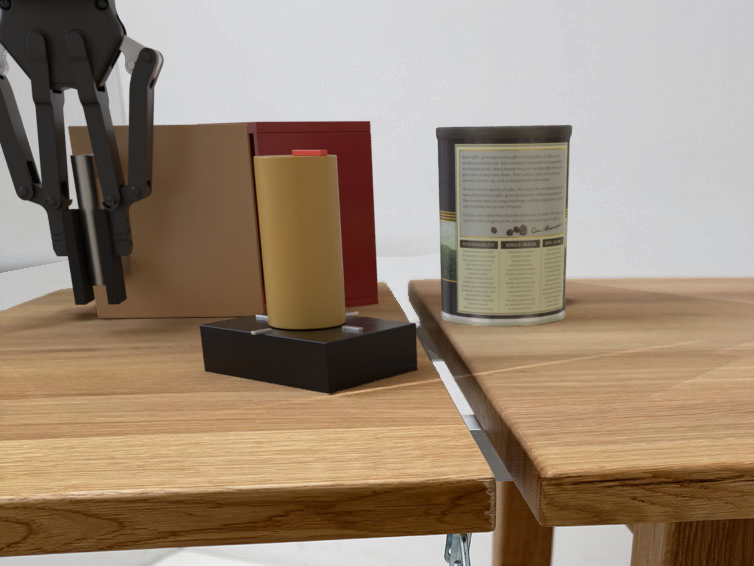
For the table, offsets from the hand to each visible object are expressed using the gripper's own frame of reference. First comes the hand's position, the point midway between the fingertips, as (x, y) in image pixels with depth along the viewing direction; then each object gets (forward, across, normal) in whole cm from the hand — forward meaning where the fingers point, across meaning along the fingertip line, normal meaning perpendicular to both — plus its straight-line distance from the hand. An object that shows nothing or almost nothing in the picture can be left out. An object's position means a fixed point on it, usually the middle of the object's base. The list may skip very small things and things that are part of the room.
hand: (101, 301), depth 77 cm
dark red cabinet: (+2, -13, -15) cm, 20 cm away
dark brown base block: (+2, -17, +16) cm, 23 cm away
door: (+2, -4, -3) cm, 6 cm away
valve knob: (-1, -17, +16) cm, 23 cm away
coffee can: (+2, -31, -4) cm, 31 cm away
